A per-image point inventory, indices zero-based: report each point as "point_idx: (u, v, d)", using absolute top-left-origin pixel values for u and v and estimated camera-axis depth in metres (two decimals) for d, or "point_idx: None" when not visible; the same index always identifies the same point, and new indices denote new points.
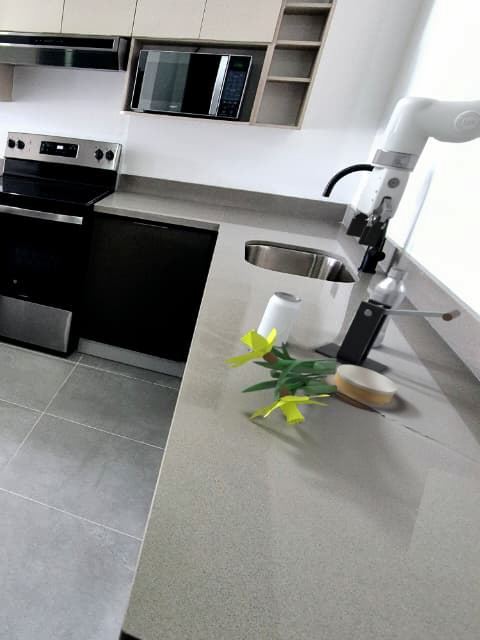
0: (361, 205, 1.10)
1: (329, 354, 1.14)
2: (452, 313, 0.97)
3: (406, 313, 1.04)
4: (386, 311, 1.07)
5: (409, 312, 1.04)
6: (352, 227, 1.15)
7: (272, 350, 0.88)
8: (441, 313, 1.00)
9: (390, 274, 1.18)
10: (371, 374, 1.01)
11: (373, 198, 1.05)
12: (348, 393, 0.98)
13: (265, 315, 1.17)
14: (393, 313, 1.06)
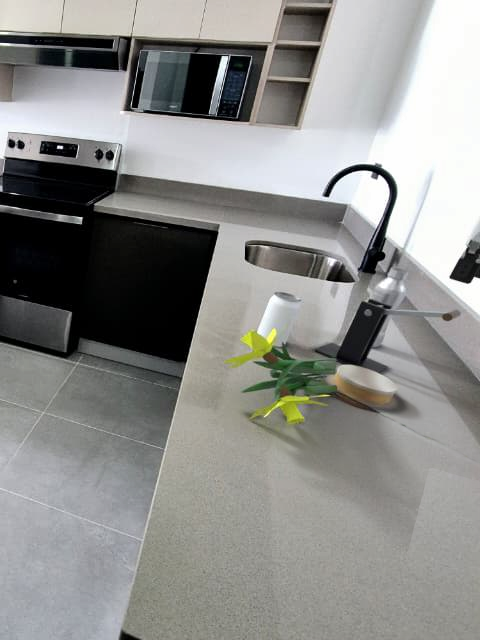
0: None
1: (329, 354, 1.14)
2: (452, 313, 0.97)
3: (406, 313, 1.04)
4: (386, 311, 1.07)
5: (409, 312, 1.04)
6: None
7: (272, 350, 0.88)
8: (441, 313, 1.00)
9: (390, 274, 1.18)
10: (371, 374, 1.01)
11: (473, 227, 0.91)
12: (348, 393, 0.98)
13: (265, 315, 1.17)
14: (393, 313, 1.06)
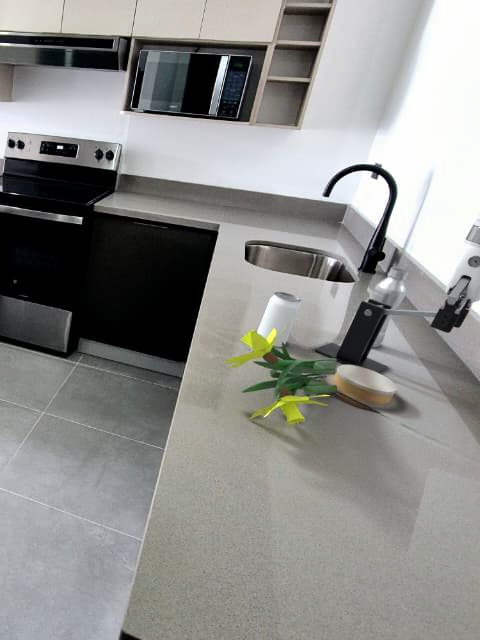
0: None
1: (329, 354, 1.14)
2: None
3: (406, 313, 1.04)
4: (386, 311, 1.07)
5: (409, 312, 1.04)
6: None
7: (272, 350, 0.88)
8: None
9: (390, 274, 1.18)
10: (371, 374, 1.01)
11: (452, 276, 0.95)
12: (348, 393, 0.98)
13: (265, 315, 1.17)
14: (393, 313, 1.06)
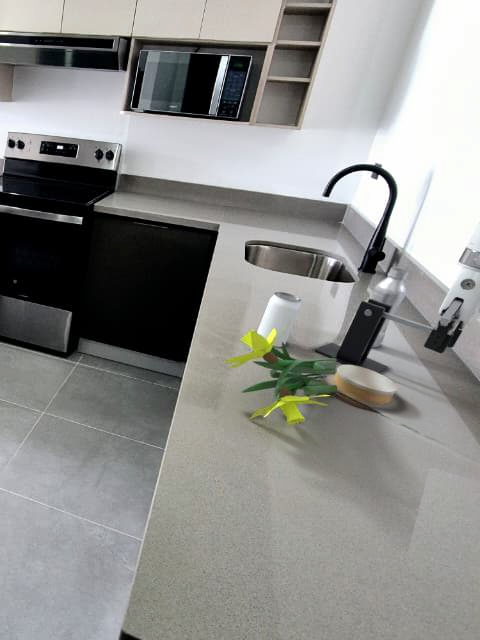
0: None
1: (329, 354, 1.14)
2: None
3: (404, 322, 1.05)
4: (385, 315, 1.07)
5: (407, 322, 1.04)
6: None
7: (272, 350, 0.88)
8: None
9: (390, 274, 1.18)
10: (371, 374, 1.01)
11: (445, 297, 0.96)
12: (348, 393, 0.98)
13: (265, 315, 1.17)
14: (391, 318, 1.06)
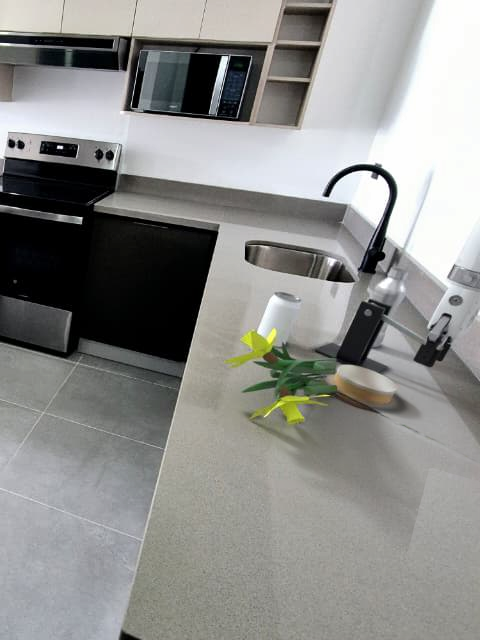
0: None
1: (329, 354, 1.14)
2: None
3: (400, 328, 1.05)
4: (384, 317, 1.07)
5: (403, 329, 1.05)
6: None
7: (272, 350, 0.88)
8: None
9: (390, 274, 1.18)
10: (371, 374, 1.01)
11: (434, 313, 0.98)
12: (348, 393, 0.98)
13: (265, 315, 1.17)
14: (389, 322, 1.07)
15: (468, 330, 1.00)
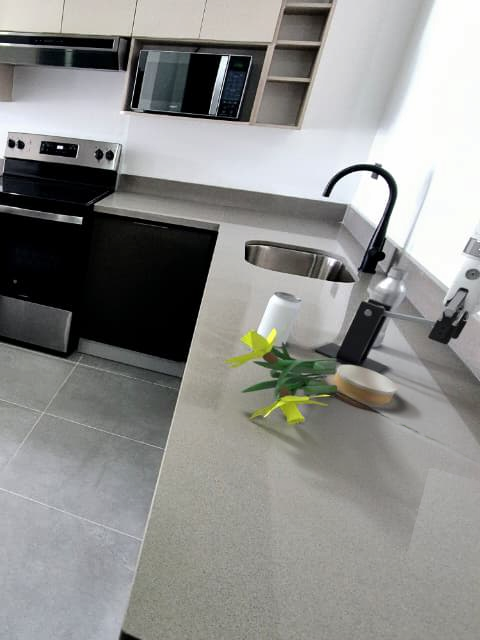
0: None
1: (329, 354, 1.14)
2: None
3: (405, 318, 1.04)
4: (386, 313, 1.07)
5: (408, 317, 1.04)
6: None
7: (272, 350, 0.88)
8: None
9: (390, 274, 1.18)
10: (371, 374, 1.01)
11: None
12: (348, 393, 0.98)
13: (265, 315, 1.17)
14: (392, 316, 1.06)
15: None
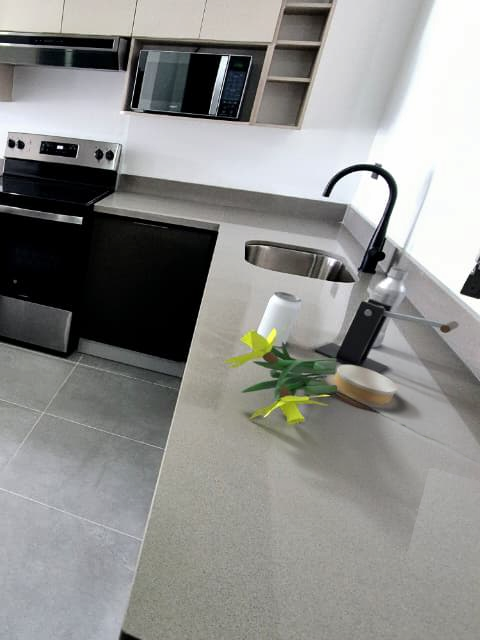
0: None
1: (329, 354, 1.14)
2: (450, 325, 0.98)
3: (405, 318, 1.04)
4: (386, 313, 1.07)
5: (408, 318, 1.04)
6: None
7: (272, 350, 0.88)
8: (440, 323, 1.00)
9: (390, 274, 1.18)
10: (371, 374, 1.01)
11: None
12: (348, 393, 0.98)
13: (265, 315, 1.17)
14: (392, 316, 1.06)
15: None
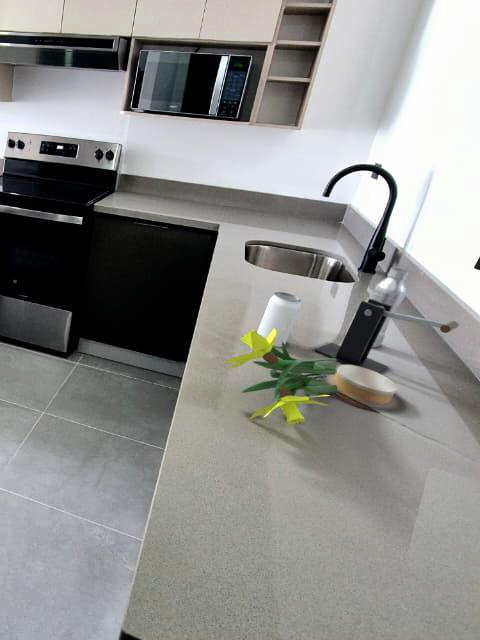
0: None
1: (329, 354, 1.14)
2: (450, 325, 0.98)
3: (405, 318, 1.04)
4: (386, 313, 1.07)
5: (408, 318, 1.04)
6: None
7: (272, 350, 0.88)
8: (440, 323, 1.00)
9: (390, 274, 1.18)
10: (371, 374, 1.01)
11: None
12: (348, 393, 0.98)
13: (265, 315, 1.17)
14: (392, 316, 1.06)
15: None
